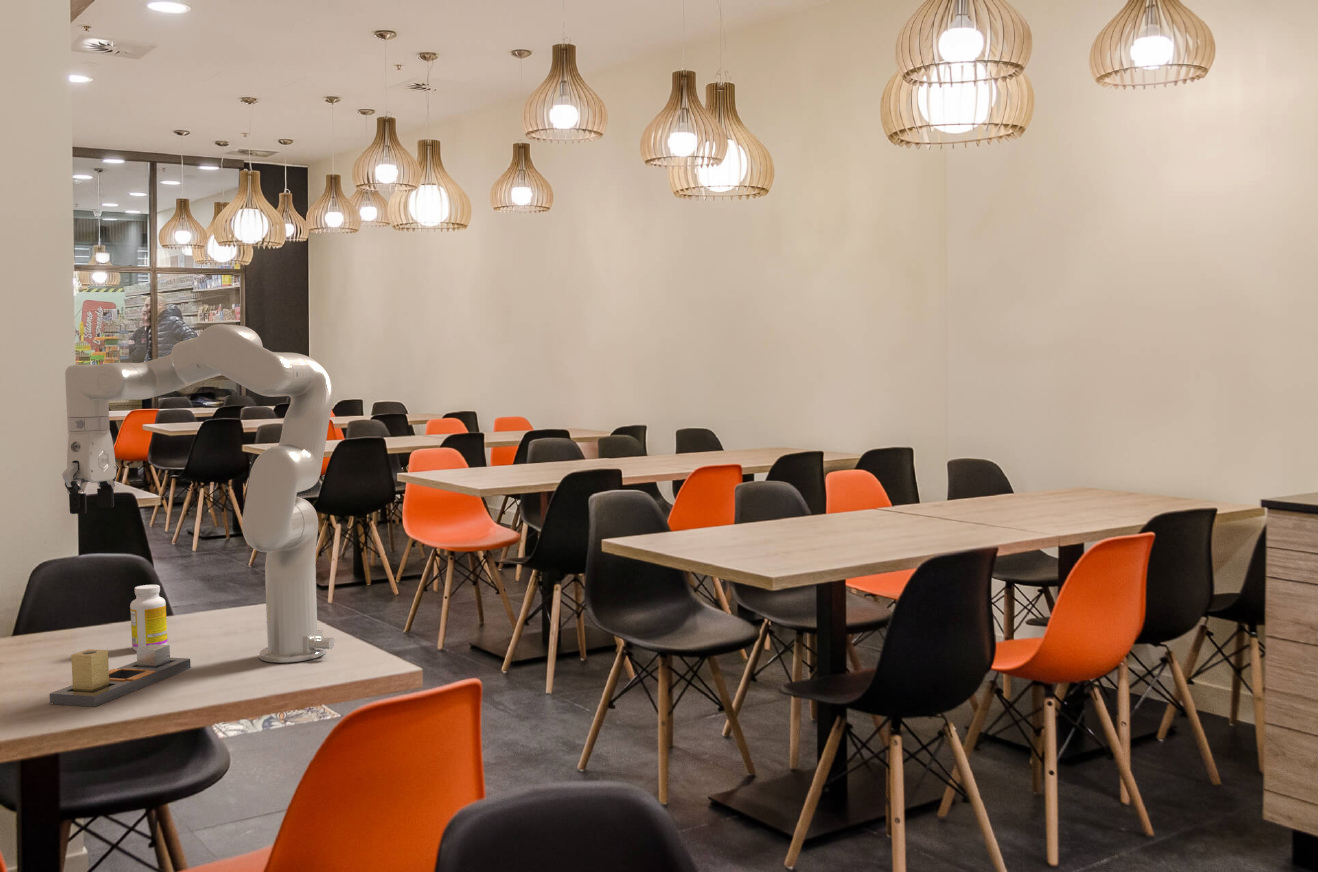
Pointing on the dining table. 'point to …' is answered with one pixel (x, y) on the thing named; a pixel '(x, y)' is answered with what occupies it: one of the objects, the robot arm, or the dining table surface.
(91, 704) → the rail
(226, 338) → the robot arm
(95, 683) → the brass nut
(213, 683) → the dining table surface
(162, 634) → the supplement bottle
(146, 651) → the block
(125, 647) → the dining table surface
